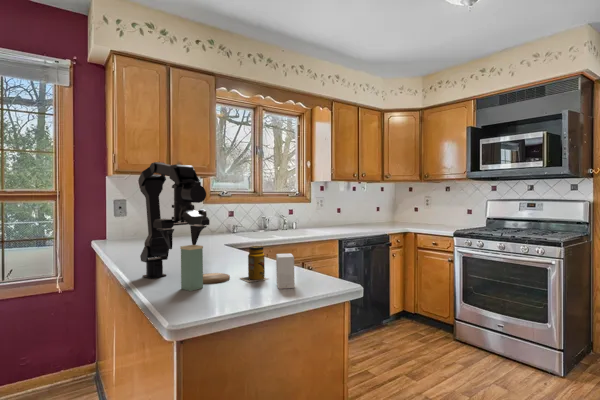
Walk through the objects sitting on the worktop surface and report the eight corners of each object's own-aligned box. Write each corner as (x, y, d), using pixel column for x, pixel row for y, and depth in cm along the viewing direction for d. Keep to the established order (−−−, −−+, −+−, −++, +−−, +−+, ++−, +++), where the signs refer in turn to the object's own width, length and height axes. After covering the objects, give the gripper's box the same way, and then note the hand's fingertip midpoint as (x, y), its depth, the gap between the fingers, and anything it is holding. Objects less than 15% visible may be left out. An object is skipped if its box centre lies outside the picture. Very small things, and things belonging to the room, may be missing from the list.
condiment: (269, 279, 132) (268, 246, 132) (248, 282, 128) (247, 248, 128) (259, 275, 138) (259, 244, 138) (239, 278, 134) (239, 246, 134)
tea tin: (180, 288, 120) (180, 246, 120) (194, 285, 124) (193, 244, 124) (190, 291, 116) (189, 247, 116) (203, 287, 121) (203, 245, 120)
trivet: (186, 280, 132) (186, 277, 132) (214, 274, 142) (214, 271, 142) (208, 285, 124) (208, 282, 124) (237, 278, 134) (236, 275, 134)
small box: (294, 288, 119) (294, 256, 119) (277, 289, 118) (277, 257, 118) (292, 282, 127) (292, 253, 127) (276, 283, 126) (276, 253, 126)
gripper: (172, 203, 110) (172, 254, 111) (219, 202, 125) (219, 246, 125) (152, 202, 117) (152, 249, 117) (199, 201, 132) (199, 243, 132)
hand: (182, 247), depth 123 cm, fingers open, 9 cm apart
